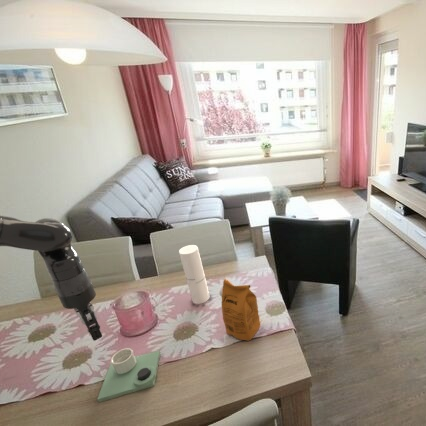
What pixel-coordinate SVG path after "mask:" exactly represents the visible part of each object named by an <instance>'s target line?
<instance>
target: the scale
mask: <svg viewBox="0 0 426 426" xmlns="http://www.w3.org/2000/svg"><path fill="white" fill-rule="evenodd" d="M160 353H161V350H156V351H151V352H148V353H144V354H140V355H137V356H135V358H136V360H137V362H136V365H135V366H134V367H133V368H132V369H131V370H130V371H128V372H126V373H123V374H118V373H116V372H115V369H114V367H113V365H112V363H111V362H110V364H109V367H108V370H107V371H106V375H105V377H104V380H103V383H102V385H101V387H100V388H101V389H100V391H99V394H98V395H97V402H98V403H101V402H105V401H108V400H112V399H116V398H118V397H121V396H125V395H128V394H132V393H135V392H139V391H142V390H145V389H148V388H152V387H155V385H156V379H157V374H158V369H159V364H158V363H160V359H159V357H160V358H161V354H160ZM143 368H148V369H149V371H150V376H149V377H148V378H147V379H145V380H143V381H141V380H139V378H138V376H137V374H138V372H139V371H140V370H141V369H143Z"/></svg>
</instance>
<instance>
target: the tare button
mask: <svg viewBox="0 0 426 426" xmlns="http://www.w3.org/2000/svg"><path fill="white" fill-rule="evenodd" d="M137 376H138V378H139V380H141V381H143V380H145V379H147V378H148V377H149V376H150V371H149V369H148V368H143V369H141V370H140V371H139V372H138V374H137Z"/></svg>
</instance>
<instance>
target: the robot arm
mask: <svg viewBox="0 0 426 426" xmlns="http://www.w3.org/2000/svg"><path fill="white" fill-rule="evenodd" d="M72 241H73V233H72V231H71V229H70V228H69V227H68V226H67V225H65V224H64V223H63V222H61V221H60V220H59V219H56V218H52V217H51V218H50V217H46V218H45V217H44V218H41V219H38V220H36V221H34V222H33V221H28V220H26V221H25V220H21V219H19V218H16V217H14V216H13V217H12V216H7V215H0V247H10V248H15V249H21V250H28V251H36V252H38V254H39V255H40V257H41V258H42V260H43V263H44V265H45V269H46V270H47V271H46V272H47V273H48V275H49V277H50V279H51V282H52V285H53V289H54V290H55V293H56V295H57V297H58V299H59V301H60V303H61V305H62V307H63V308H64V309H66V310H74V312H75V314H76V316H77V318H79V320H80V322H81V324H82V325H83V326H85V327H86V329H87V332H88V334H90V337H91V338H92V340H93V342H95V341H97V340H99V339H101V338H102V337H103V334H102V332H101V330H100V329H101V325H100V324H99V322H98V320H97V319H98V316H97V314H96V312H95V307H94V305H93V303H92V301H93V300H94V299H95V298H96V295H97V294H96V290H95V288H94V284H93V283H92V281H91V278H90V276H89V274H88V272H87V271H86V269H85V267H84V264H83V262H82V260H81V258H80V256H79V254H78V252H76V250H75V249H74V247H73V246H72Z"/></svg>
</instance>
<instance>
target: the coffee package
mask: <svg viewBox="0 0 426 426" xmlns="http://www.w3.org/2000/svg"><path fill="white" fill-rule="evenodd" d="M222 283H223V284H222V292H221V313H222V321H223V323H224V328H225V332H226V334H227V335H229V336H233V338H235V339H237V340H240V341H247V342H249V341H251V340H252V339H253V338H254V336H255V335H256V334H257V332H258V331H259V329H260V327H261V321H260V315H259V306H258V305H259V304H258V299H257V298H258V297H257V295H256V294H255V293H254V292H253V291H252V290H251V289H250V288H251V284H242V285H234V284H233V283H232V282H231V281H230V280H229V279H226V278H225V279H223V282H222Z"/></svg>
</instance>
